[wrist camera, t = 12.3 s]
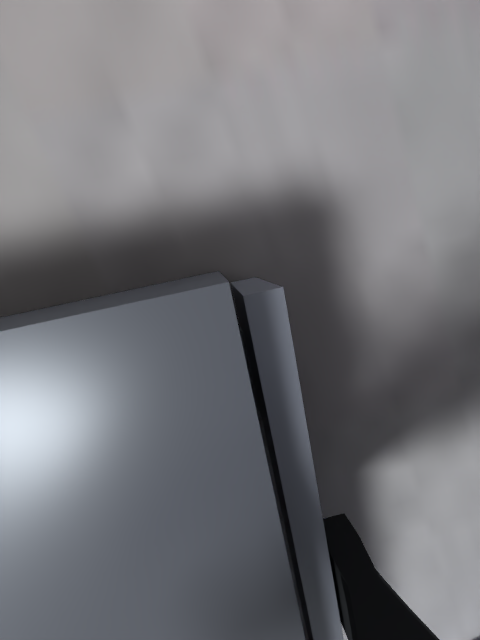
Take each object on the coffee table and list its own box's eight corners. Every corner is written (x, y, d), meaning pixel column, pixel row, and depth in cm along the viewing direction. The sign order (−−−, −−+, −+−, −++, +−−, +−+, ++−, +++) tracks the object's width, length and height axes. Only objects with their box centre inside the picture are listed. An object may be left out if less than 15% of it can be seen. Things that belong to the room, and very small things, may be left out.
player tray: (255, 277, 9) (283, 287, 5) (327, 655, 13) (369, 796, 9) (-202, 376, 8) (-495, 458, 5) (23, 748, 12) (-49, 938, 8)
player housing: (218, 270, 9) (228, 282, 4) (302, 650, 13) (356, 878, 8) (-240, 368, 8) (-867, 519, 3) (-3, 741, 12) (-141, 1054, 7)
